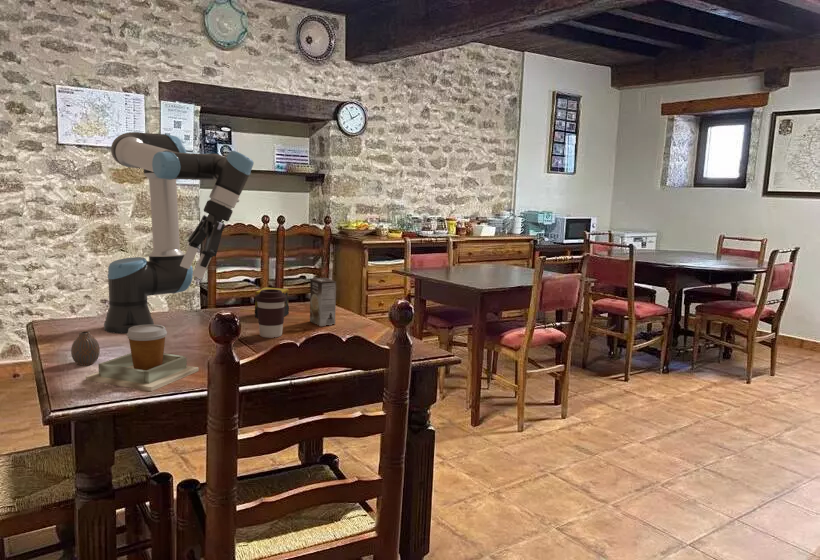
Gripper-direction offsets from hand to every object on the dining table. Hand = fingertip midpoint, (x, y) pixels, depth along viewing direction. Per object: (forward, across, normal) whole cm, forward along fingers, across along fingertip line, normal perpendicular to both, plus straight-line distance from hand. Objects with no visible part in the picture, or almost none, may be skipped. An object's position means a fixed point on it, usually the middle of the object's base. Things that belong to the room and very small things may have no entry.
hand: (190, 272), depth 181 cm
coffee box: (+3, +20, -58) cm, 61 cm away
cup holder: (+28, -16, +5) cm, 32 cm away
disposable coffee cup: (+27, -18, +5) cm, 32 cm away
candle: (+9, +38, -47) cm, 61 cm away
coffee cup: (+11, +10, -36) cm, 39 cm away
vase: (+34, +2, +15) cm, 37 cm away
